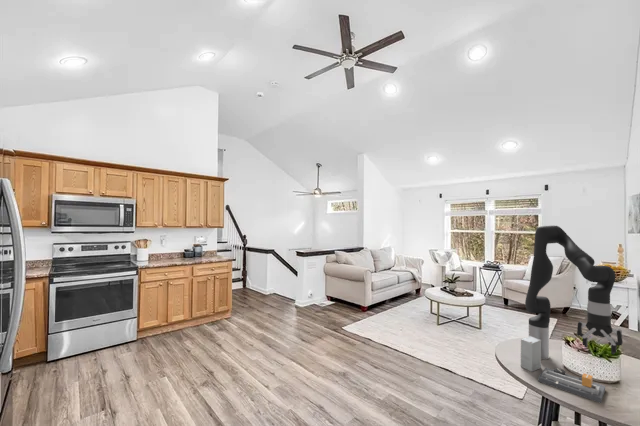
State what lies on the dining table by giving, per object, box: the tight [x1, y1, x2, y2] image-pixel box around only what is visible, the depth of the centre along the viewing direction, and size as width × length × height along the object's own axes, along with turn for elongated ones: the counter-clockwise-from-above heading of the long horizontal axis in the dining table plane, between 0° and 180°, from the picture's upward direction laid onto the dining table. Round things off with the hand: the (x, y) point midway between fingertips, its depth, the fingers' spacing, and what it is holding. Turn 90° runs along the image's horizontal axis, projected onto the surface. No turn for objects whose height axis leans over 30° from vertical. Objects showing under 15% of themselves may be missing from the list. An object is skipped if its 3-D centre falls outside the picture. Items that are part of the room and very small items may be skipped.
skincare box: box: [520, 335, 542, 373], centre depth 157 cm, size 8×6×15 cm
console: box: [537, 367, 606, 404], centre depth 141 cm, size 14×22×4 cm, turn 42°
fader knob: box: [581, 372, 594, 388], centre depth 135 cm, size 4×3×6 cm
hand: (599, 350), depth 131 cm, fingers open, 8 cm apart
